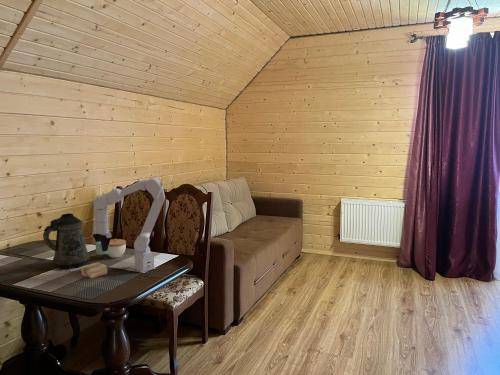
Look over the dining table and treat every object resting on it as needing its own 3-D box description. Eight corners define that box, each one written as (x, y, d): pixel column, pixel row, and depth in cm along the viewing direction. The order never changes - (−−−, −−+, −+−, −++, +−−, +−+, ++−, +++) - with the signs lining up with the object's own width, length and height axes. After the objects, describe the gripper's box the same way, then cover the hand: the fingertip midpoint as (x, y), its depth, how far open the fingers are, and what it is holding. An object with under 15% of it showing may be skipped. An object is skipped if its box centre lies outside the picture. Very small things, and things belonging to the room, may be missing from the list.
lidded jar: (120, 259, 201) (119, 242, 200) (100, 258, 203) (100, 240, 202) (129, 253, 212) (129, 236, 211) (111, 252, 213) (110, 235, 212)
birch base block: (107, 274, 182) (107, 265, 181) (91, 279, 175) (91, 270, 175) (97, 270, 186) (97, 262, 186) (81, 274, 180) (81, 266, 179)
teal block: (109, 252, 186) (109, 242, 186) (100, 254, 183) (100, 244, 182) (105, 250, 189) (104, 240, 189) (95, 252, 186) (95, 242, 185)
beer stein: (96, 260, 199) (95, 212, 196) (69, 273, 181) (67, 220, 177) (69, 257, 204) (67, 209, 200) (40, 269, 185) (37, 217, 182)
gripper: (86, 220, 186) (87, 248, 188) (100, 225, 176) (101, 254, 178) (100, 218, 191) (101, 245, 193) (115, 223, 181) (116, 251, 183)
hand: (102, 249), depth 186 cm, fingers closed on teal block, 4 cm apart
